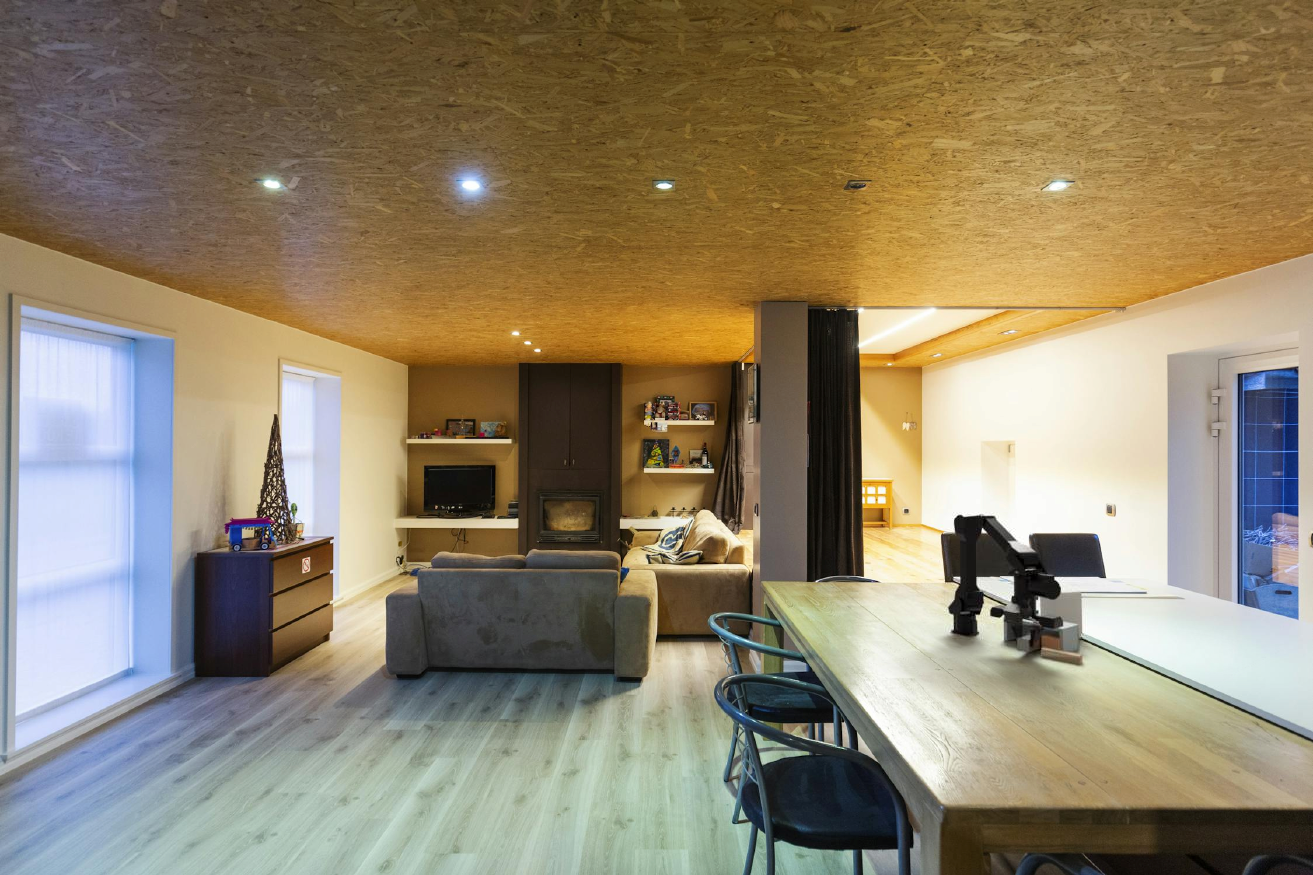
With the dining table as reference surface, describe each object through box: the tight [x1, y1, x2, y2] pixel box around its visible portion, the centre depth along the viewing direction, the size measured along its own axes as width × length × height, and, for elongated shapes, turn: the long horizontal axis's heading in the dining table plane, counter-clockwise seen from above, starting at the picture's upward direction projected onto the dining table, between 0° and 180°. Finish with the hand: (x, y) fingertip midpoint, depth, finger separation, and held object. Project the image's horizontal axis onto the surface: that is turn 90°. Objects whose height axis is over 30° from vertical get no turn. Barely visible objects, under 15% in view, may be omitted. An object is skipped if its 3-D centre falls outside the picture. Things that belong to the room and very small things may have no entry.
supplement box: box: [1039, 586, 1083, 639], centre depth 217 cm, size 9×9×15 cm
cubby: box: [1003, 616, 1080, 653], centre depth 206 cm, size 18×10×8 cm, turn 33°
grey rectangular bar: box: [1016, 632, 1043, 653], centre depth 199 cm, size 18×7×4 cm, turn 134°
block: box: [1041, 634, 1060, 650], centre depth 199 cm, size 4×4×4 cm
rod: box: [1040, 647, 1084, 665], centre depth 191 cm, size 2×10×2 cm, turn 41°
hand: (1026, 645), depth 194 cm, fingers closed on grey rectangular bar, 3 cm apart
